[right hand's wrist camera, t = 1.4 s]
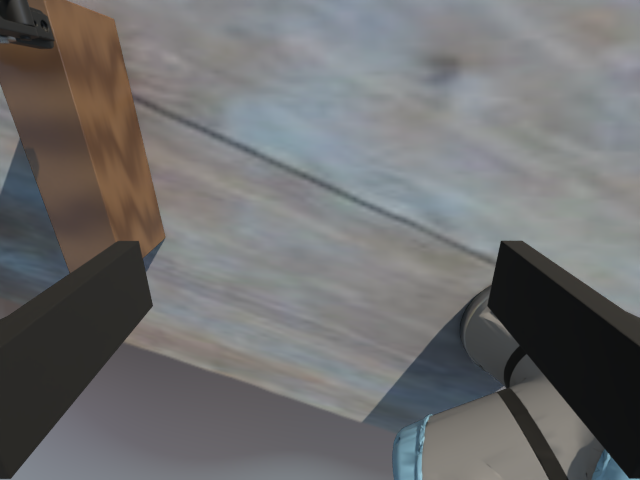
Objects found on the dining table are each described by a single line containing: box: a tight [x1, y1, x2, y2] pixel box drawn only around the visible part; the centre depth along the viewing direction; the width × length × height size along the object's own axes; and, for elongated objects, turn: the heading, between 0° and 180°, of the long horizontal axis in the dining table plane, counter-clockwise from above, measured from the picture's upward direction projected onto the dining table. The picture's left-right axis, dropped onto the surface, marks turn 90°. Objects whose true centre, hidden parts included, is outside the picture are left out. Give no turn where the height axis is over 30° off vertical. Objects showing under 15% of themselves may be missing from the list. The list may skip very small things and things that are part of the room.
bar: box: [0, 0, 165, 273], centre depth 34 cm, size 23×6×10 cm, turn 3°
